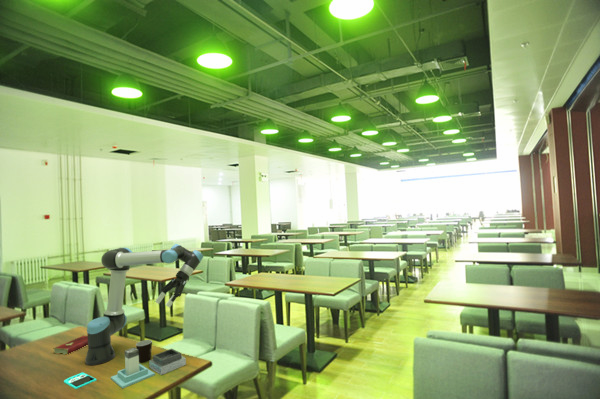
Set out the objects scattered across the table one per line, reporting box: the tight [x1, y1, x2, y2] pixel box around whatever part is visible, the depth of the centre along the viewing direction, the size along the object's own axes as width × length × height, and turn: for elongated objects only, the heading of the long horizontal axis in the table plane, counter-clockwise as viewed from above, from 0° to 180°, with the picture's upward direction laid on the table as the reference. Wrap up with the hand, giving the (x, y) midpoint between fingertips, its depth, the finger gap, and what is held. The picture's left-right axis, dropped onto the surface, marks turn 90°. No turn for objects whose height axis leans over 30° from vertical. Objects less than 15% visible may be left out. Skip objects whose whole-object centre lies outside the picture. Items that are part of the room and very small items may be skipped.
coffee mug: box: [135, 339, 153, 364], centre depth 199 cm, size 12×9×10 cm
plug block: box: [124, 346, 140, 376], centre depth 178 cm, size 5×5×13 cm
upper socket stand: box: [148, 348, 187, 376], centre depth 188 cm, size 14×14×6 cm
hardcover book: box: [53, 334, 88, 355], centre depth 225 cm, size 12×21×4 cm, turn 162°
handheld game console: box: [63, 372, 97, 390], centre depth 178 cm, size 10×16×1 cm, turn 55°
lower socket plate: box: [110, 363, 156, 389], centre depth 178 cm, size 16×16×4 cm
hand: (162, 304), depth 198 cm, fingers open, 13 cm apart
